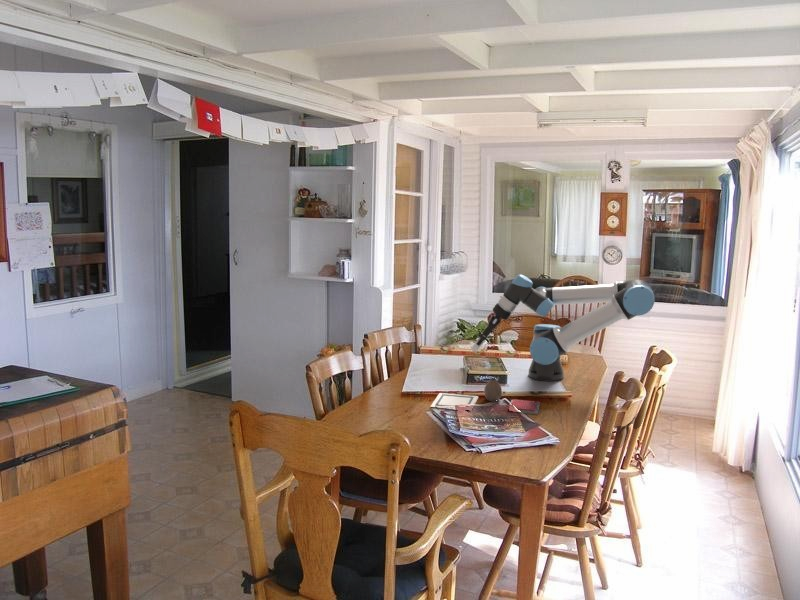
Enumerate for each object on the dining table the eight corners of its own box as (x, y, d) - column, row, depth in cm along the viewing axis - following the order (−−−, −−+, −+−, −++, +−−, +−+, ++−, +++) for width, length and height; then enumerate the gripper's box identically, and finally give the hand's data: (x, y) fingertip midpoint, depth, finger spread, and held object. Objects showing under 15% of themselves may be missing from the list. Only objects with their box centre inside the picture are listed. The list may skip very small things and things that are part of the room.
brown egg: (503, 402, 270) (504, 381, 269) (486, 403, 269) (487, 382, 267) (498, 396, 277) (498, 375, 275) (482, 397, 276) (482, 376, 274)
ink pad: (539, 404, 268) (539, 401, 267) (537, 414, 257) (537, 410, 257) (511, 401, 271) (511, 398, 270) (507, 411, 260) (507, 408, 260)
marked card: (478, 397, 276) (478, 395, 276) (471, 411, 261) (471, 409, 261) (439, 394, 280) (439, 392, 280) (430, 407, 265) (430, 405, 265)
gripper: (501, 297, 299) (474, 335, 306) (492, 307, 276) (463, 348, 282) (515, 307, 298) (488, 345, 305) (508, 318, 275) (478, 359, 281)
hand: (476, 346), depth 294 cm, fingers open, 13 cm apart
